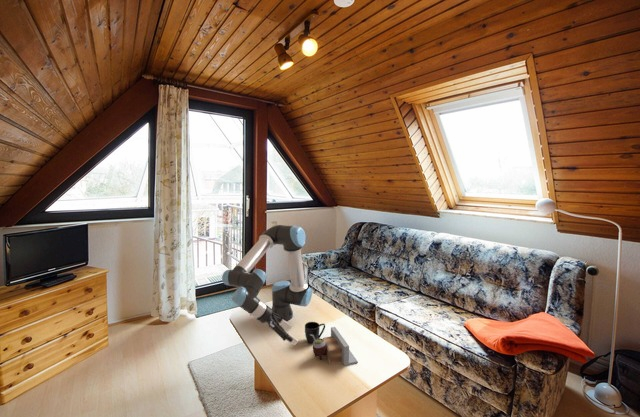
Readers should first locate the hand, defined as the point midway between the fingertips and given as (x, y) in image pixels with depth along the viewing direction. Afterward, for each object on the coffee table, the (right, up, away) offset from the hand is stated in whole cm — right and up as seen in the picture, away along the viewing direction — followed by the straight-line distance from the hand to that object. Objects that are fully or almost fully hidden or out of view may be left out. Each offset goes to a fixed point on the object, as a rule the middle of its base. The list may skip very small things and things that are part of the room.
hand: (293, 335), depth 142 cm
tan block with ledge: (+19, -14, +7) cm, 25 cm away
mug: (+11, -12, +21) cm, 27 cm away
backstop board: (+26, -14, +9) cm, 31 cm away
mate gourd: (+13, -13, +5) cm, 19 cm away
